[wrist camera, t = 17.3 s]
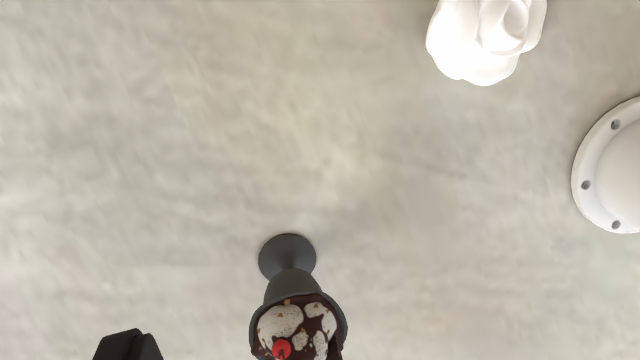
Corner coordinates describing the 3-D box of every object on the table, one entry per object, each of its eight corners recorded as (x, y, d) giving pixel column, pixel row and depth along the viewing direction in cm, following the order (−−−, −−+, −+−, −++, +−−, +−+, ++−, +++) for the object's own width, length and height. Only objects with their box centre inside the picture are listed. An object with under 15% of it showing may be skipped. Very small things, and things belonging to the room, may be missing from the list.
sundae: (236, 238, 41) (231, 362, 27) (314, 214, 41) (347, 326, 28) (260, 302, 44) (267, 446, 30) (333, 279, 44) (374, 411, 30)
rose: (414, -23, 32) (553, -92, 31) (395, -21, 36) (517, -82, 36) (463, 114, 35) (587, 53, 35) (440, 102, 40) (552, 47, 39)
